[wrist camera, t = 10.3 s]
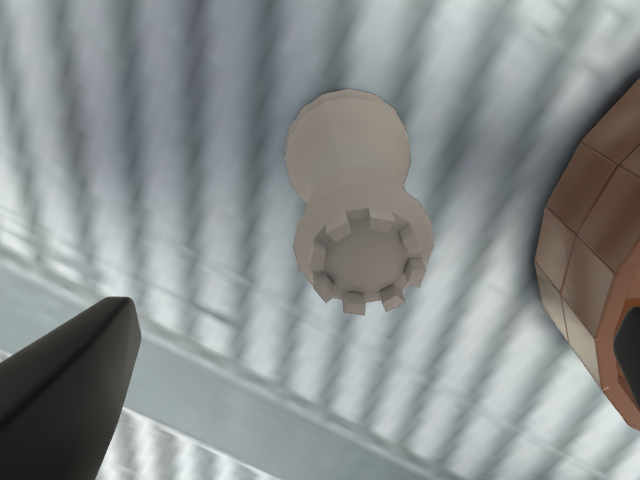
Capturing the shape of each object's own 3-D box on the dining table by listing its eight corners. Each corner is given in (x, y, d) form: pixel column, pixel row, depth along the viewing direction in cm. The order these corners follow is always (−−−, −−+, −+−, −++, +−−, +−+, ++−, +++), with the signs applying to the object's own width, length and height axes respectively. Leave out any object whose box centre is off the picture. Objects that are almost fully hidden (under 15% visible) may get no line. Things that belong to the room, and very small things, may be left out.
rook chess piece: (264, 115, 16) (225, 220, 9) (384, 64, 15) (442, 135, 8) (313, 218, 18) (312, 367, 11) (420, 178, 17) (492, 313, 10)
